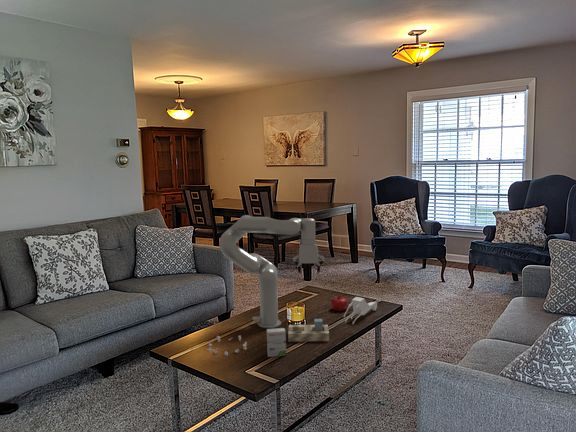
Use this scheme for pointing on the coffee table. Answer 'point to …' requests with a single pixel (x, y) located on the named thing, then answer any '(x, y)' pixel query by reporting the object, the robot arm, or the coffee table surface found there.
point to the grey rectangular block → (318, 325)
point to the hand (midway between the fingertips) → (309, 273)
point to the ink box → (276, 342)
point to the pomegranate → (339, 303)
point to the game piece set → (225, 351)
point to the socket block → (307, 333)
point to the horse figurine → (360, 307)
